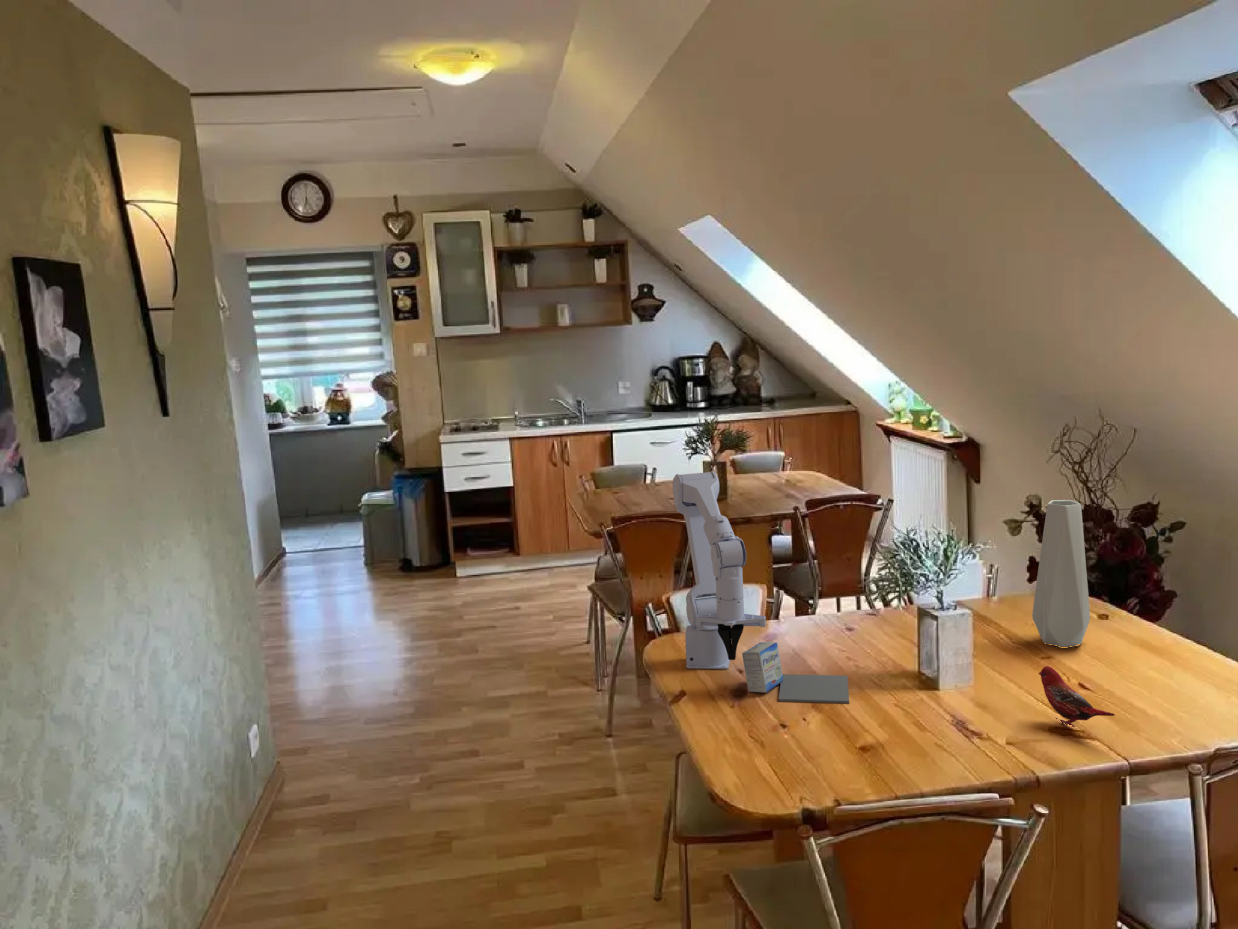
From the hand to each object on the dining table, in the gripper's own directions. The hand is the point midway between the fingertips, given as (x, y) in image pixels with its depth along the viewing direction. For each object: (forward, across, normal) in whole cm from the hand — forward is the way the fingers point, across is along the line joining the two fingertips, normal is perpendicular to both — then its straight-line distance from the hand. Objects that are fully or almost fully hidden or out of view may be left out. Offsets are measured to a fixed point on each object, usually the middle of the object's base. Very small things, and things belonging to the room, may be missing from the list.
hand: (732, 658), depth 204 cm
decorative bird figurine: (+7, +64, -16) cm, 66 cm away
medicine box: (+6, +7, 0) cm, 9 cm away
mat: (+6, +17, 0) cm, 18 cm away
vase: (+7, +72, +32) cm, 79 cm away
